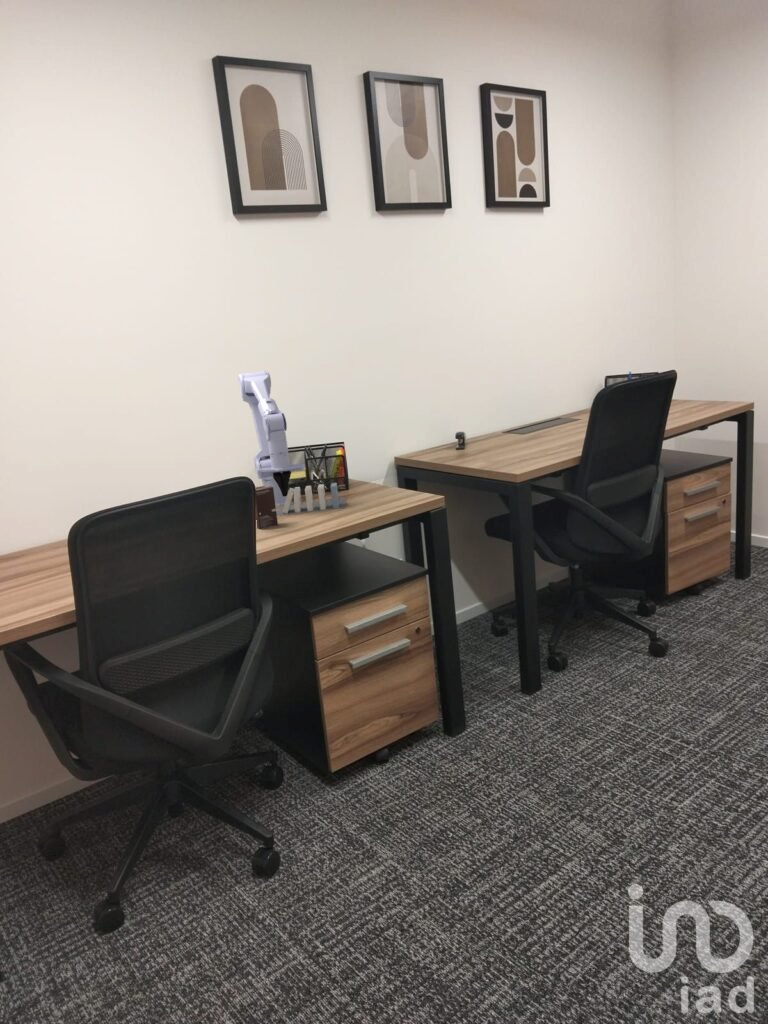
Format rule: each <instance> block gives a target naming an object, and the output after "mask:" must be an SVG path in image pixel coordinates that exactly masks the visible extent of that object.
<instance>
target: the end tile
mask: <svg viewBox="0 0 768 1024" xmlns="http://www.w3.org/2000/svg"><path fill="white" fill-rule="evenodd" d="M329 486H330V493H331V499H332V502H333V508H339V490H338V483H337V482H331V484H330V485H329Z"/></svg>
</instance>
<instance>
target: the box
mask: <svg viewBox="0 0 768 1024" xmlns="http://www.w3.org/2000/svg"><path fill="white" fill-rule="evenodd" d="M255 488H256V520H257V528H256V529H257V530H264V529H268V528H272V527H275V526H278V525H279V523H278V516H277V508H276V505H275V497H274V489H273V487H272V486H268V485H266V486H263V485H261V486H257V487H255Z"/></svg>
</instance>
